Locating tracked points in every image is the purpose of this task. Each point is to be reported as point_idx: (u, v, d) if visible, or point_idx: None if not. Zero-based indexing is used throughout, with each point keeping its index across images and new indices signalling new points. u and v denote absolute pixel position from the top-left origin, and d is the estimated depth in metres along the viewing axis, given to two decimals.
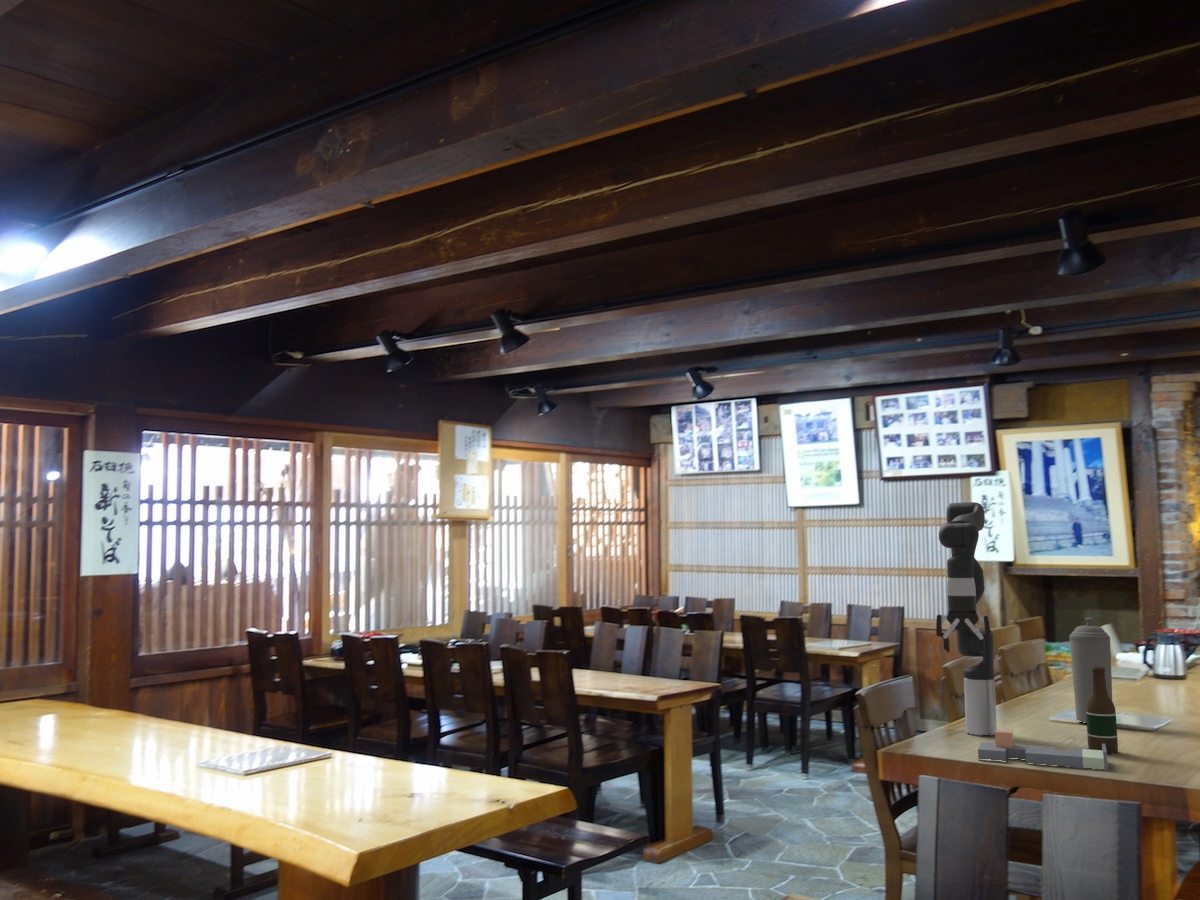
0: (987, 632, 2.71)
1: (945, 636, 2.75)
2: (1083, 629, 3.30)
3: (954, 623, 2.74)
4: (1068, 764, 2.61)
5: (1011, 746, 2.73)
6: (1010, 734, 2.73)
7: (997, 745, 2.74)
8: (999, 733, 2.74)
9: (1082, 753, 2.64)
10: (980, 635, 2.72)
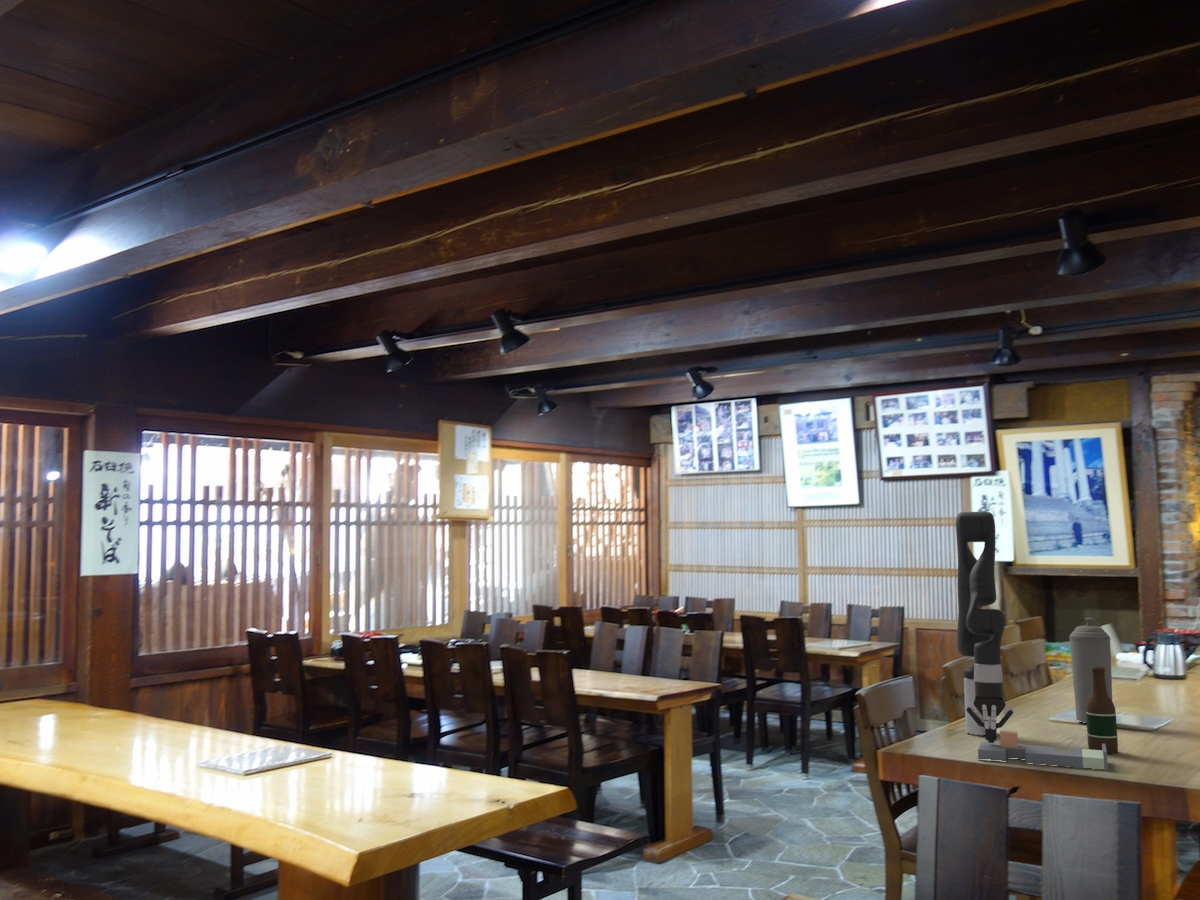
0: (999, 722, 2.75)
1: (987, 726, 2.77)
2: (1083, 629, 3.30)
3: (984, 710, 2.77)
4: (1068, 764, 2.61)
5: (1016, 746, 2.72)
6: (1015, 734, 2.73)
7: (1002, 745, 2.74)
8: (1004, 733, 2.74)
9: (1082, 753, 2.64)
10: (992, 725, 2.76)
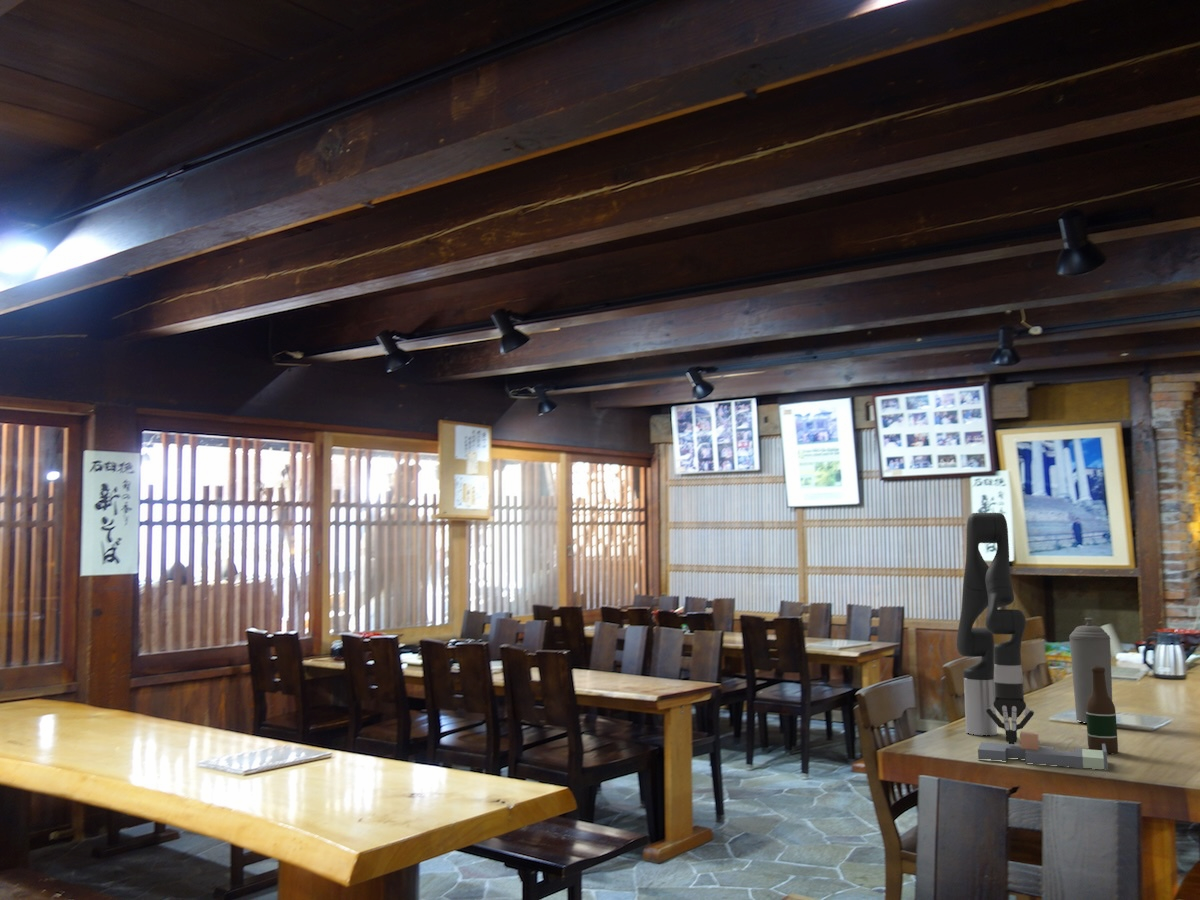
0: (1020, 723, 2.73)
1: (1007, 728, 2.74)
2: (1083, 629, 3.30)
3: (1004, 711, 2.75)
4: (1068, 764, 2.61)
5: (1036, 748, 2.70)
6: (1035, 736, 2.70)
7: (1022, 747, 2.71)
8: (1024, 735, 2.71)
9: (1082, 753, 2.64)
10: (1013, 726, 2.74)
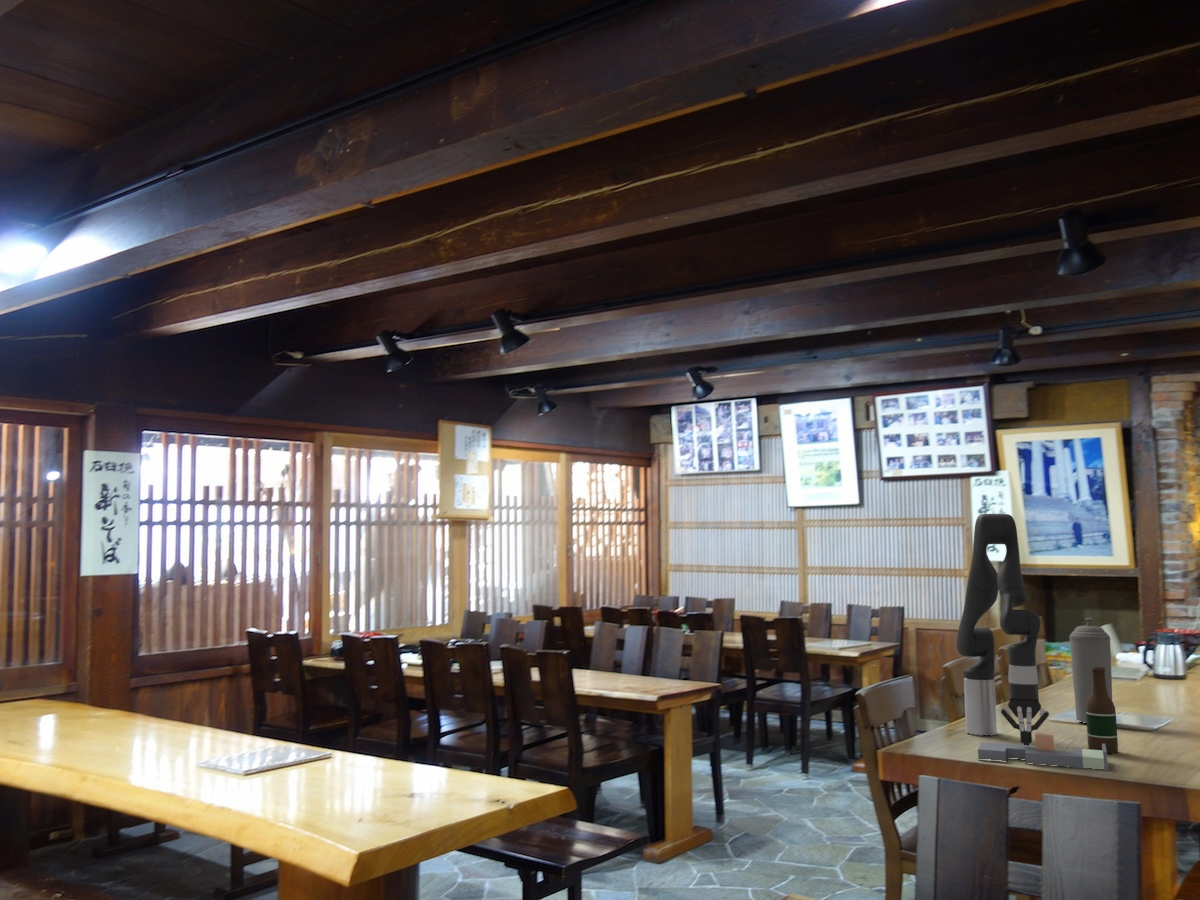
0: (1035, 724, 2.71)
1: (1022, 729, 2.73)
2: (1083, 629, 3.30)
3: (1019, 712, 2.73)
4: (1068, 764, 2.61)
5: (1052, 749, 2.68)
6: (1050, 737, 2.68)
7: (1037, 748, 2.70)
8: (1039, 736, 2.70)
9: (1082, 753, 2.64)
10: (1028, 727, 2.72)
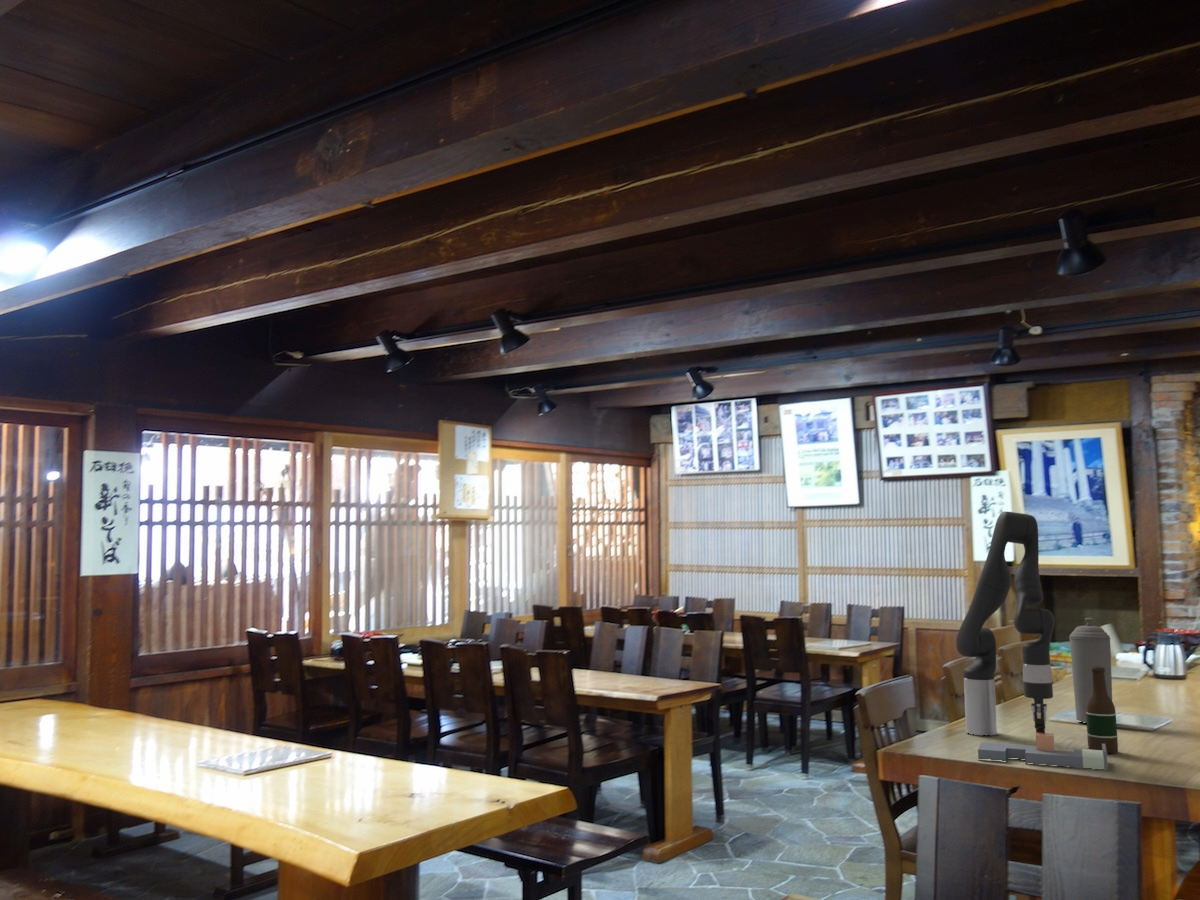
0: None
1: None
2: (1083, 629, 3.30)
3: None
4: (1068, 764, 2.61)
5: (1053, 749, 2.67)
6: (1051, 737, 2.68)
7: (1038, 749, 2.69)
8: (1040, 736, 2.69)
9: (1082, 753, 2.64)
10: None
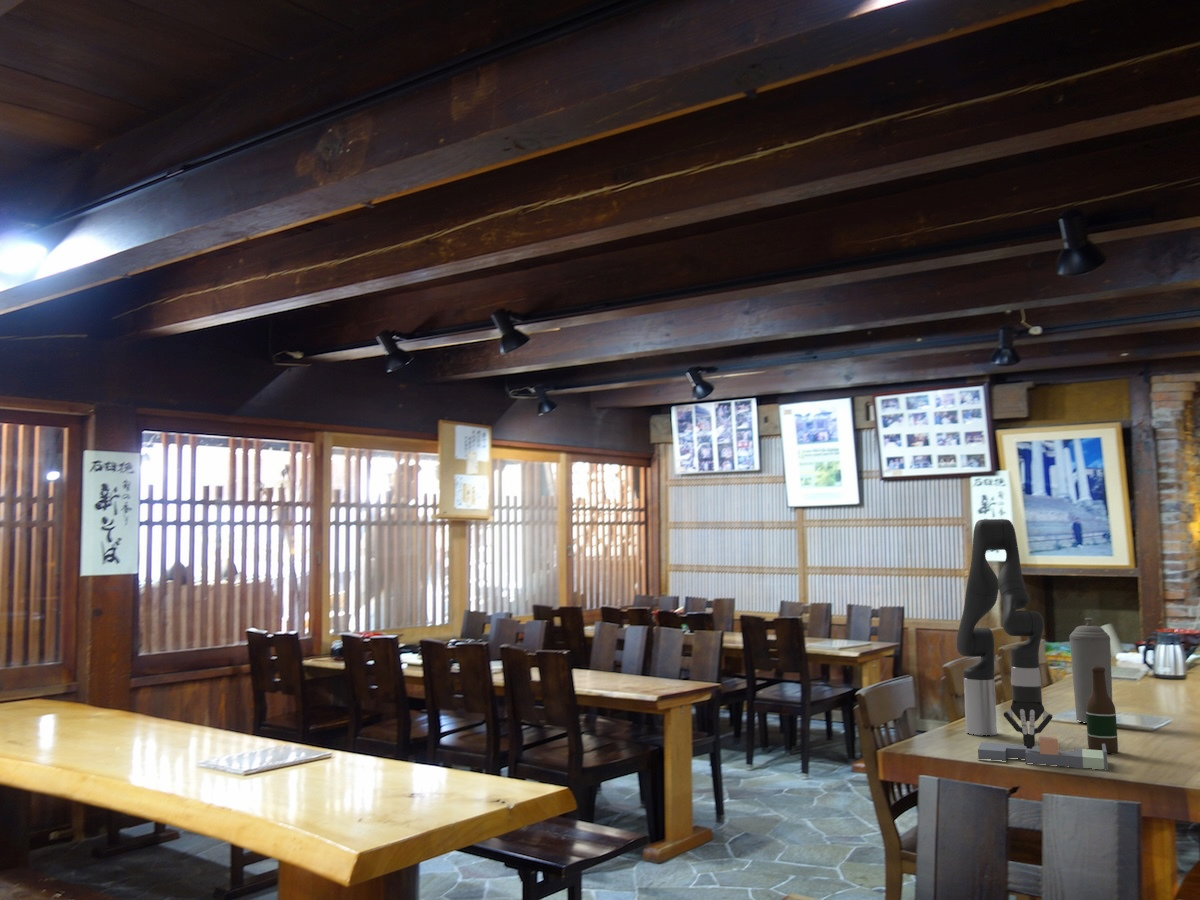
0: (1038, 727, 2.66)
1: (1025, 732, 2.68)
2: (1083, 629, 3.30)
3: (1022, 715, 2.68)
4: (1068, 764, 2.61)
5: (1057, 753, 2.62)
6: (1055, 741, 2.63)
7: (1041, 752, 2.64)
8: (1043, 740, 2.64)
9: (1082, 753, 2.64)
10: (1031, 730, 2.67)
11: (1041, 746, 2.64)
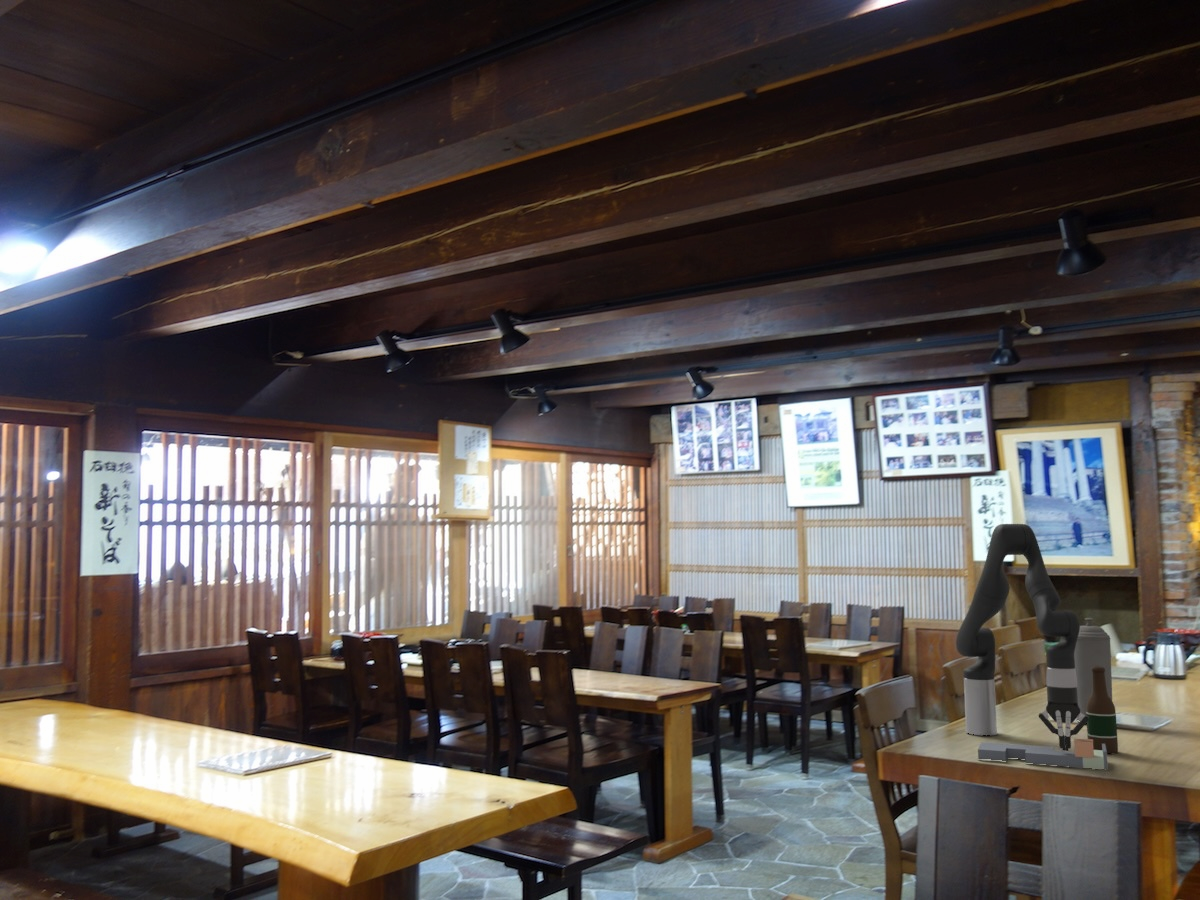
0: (1074, 729, 2.63)
1: (1061, 733, 2.64)
2: (1083, 629, 3.30)
3: (1058, 716, 2.64)
4: (1068, 764, 2.61)
5: (1092, 756, 2.58)
6: (1090, 743, 2.59)
7: (1076, 755, 2.60)
8: (1078, 742, 2.60)
9: None
10: (1067, 732, 2.63)
11: (1076, 749, 2.60)
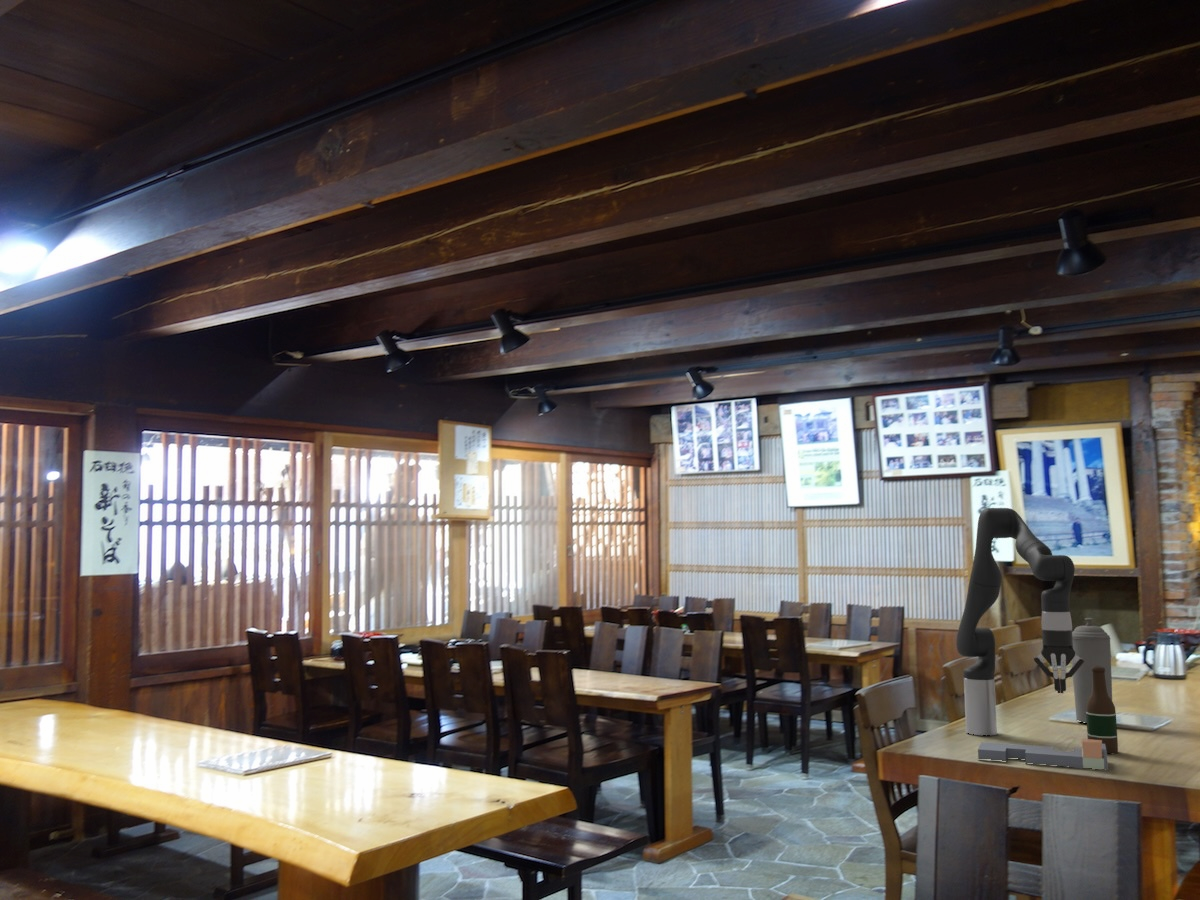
0: (1069, 672, 2.65)
1: (1056, 676, 2.66)
2: (1083, 629, 3.30)
3: (1053, 659, 2.66)
4: (1068, 764, 2.61)
5: (1100, 756, 2.57)
6: (1098, 744, 2.58)
7: (1084, 755, 2.59)
8: (1086, 743, 2.59)
9: (1082, 753, 2.64)
10: (1062, 675, 2.65)
11: (1084, 749, 2.59)
